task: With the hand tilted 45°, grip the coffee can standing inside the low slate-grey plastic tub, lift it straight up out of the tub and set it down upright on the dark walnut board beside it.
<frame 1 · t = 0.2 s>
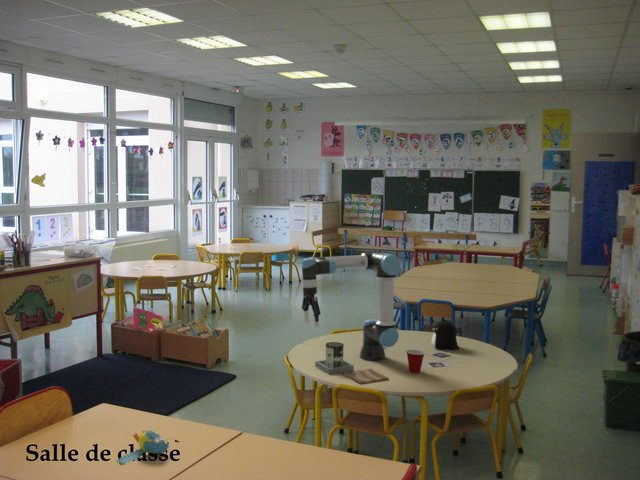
hand: (311, 324, 343), 27 cm above the table, tool pointing down, fingers open, 13 cm apart
walnut board: (365, 377, 340), on the table
penguin: (445, 348, 402), on the table
plastic cup: (415, 372, 351), on the table
blue toy bird: (151, 453, 245), on the table
grey tub: (334, 368, 355), on the table
coffee can: (334, 368, 355), resting in grey tub
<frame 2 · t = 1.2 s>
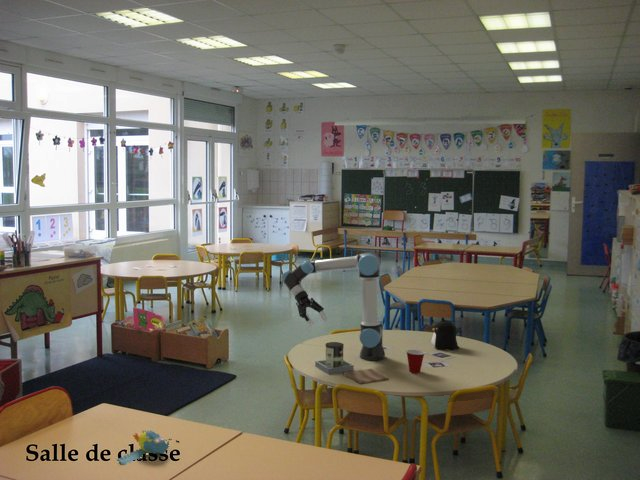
hand: (319, 323, 359), 25 cm above the table, tool tilted 45°, fingers open, 13 cm apart
nothing on the table moved.
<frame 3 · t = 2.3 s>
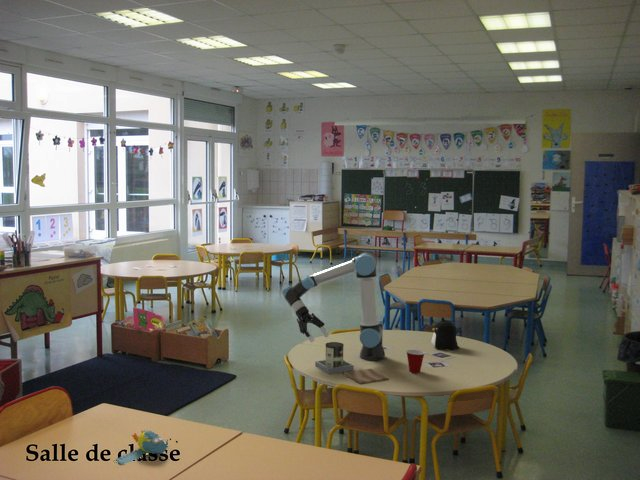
hand: (320, 338, 360), 15 cm above the table, tool tilted 45°, fingers open, 13 cm apart
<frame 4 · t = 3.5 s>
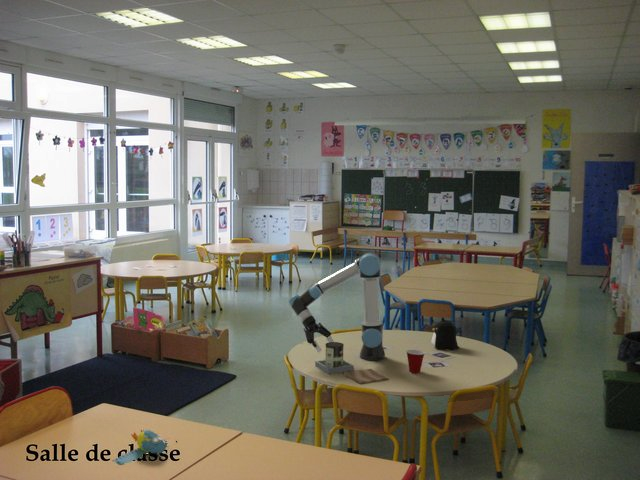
hand: (327, 348, 356), 11 cm above the table, tool tilted 45°, fingers open, 13 cm apart
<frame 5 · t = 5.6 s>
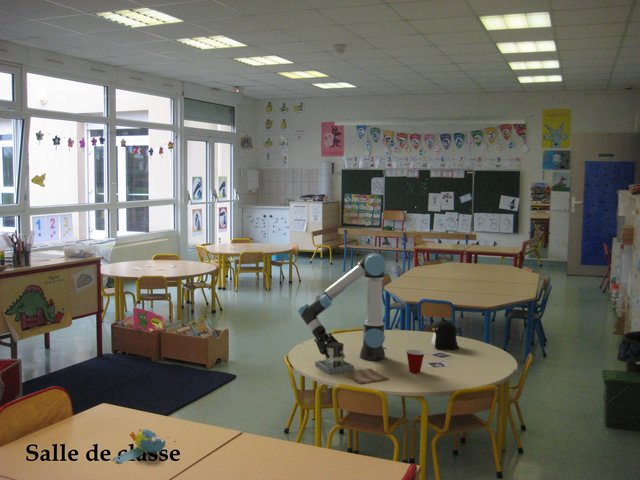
hand: (338, 360, 353), 5 cm above the table, tool tilted 45°, fingers closed on coffee can, 10 cm apart
blue toy bird: (147, 452, 246), on the table
coffee can: (334, 368, 355), resting in grey tub, touching gripper
everything else where it was.
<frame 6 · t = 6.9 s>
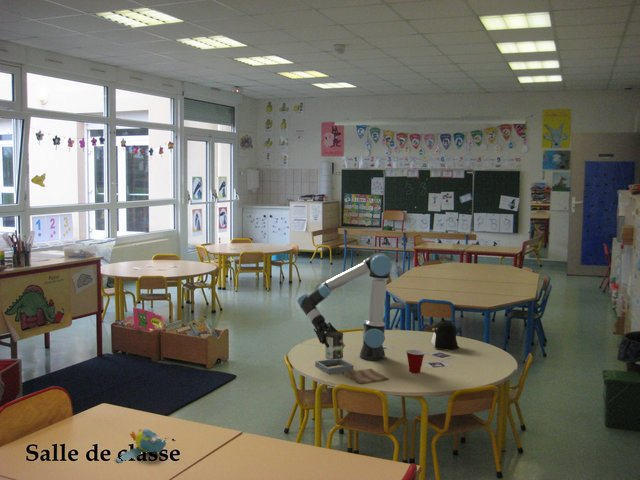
hand: (338, 349, 352), 12 cm above the table, tool tilted 45°, fingers closed on coffee can, 10 cm apart
coffee can: (334, 358, 355), point 6 cm above the table, touching gripper
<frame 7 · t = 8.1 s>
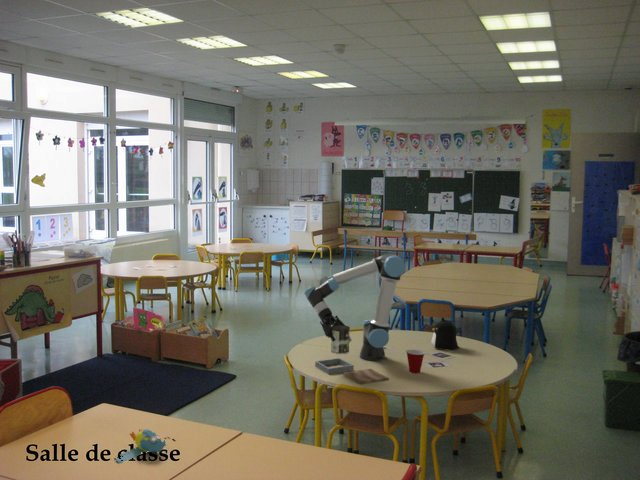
hand: (344, 343, 347), 16 cm above the table, tool tilted 45°, fingers closed on coffee can, 10 cm apart
coffee can: (339, 352, 349), point 11 cm above the table, touching gripper
everything else where it was.
when the fingers open (8 cm above the table, at t = 11.3 s): coffee can drops 1 cm, resting on walnut board.
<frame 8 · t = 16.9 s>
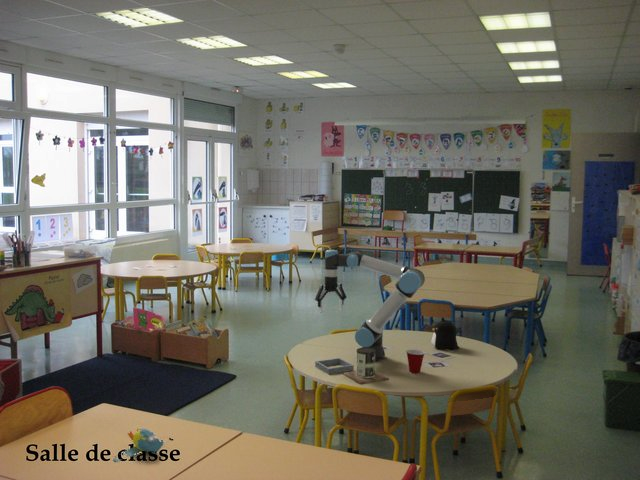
hand: (330, 311, 371), 29 cm above the table, tool pointing down, fingers open, 13 cm apart
blue toy bird: (145, 451, 247), on the table
coffee can: (365, 375, 340), point 1 cm above the table, touching walnut board
everything else where it was.
at the end: coffee can inside the target area on the walnut board (0.1 cm from its centre), point 0.8 cm above the walnut board's base; coffee can tilted 0°; the gripper is holding nothing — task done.
